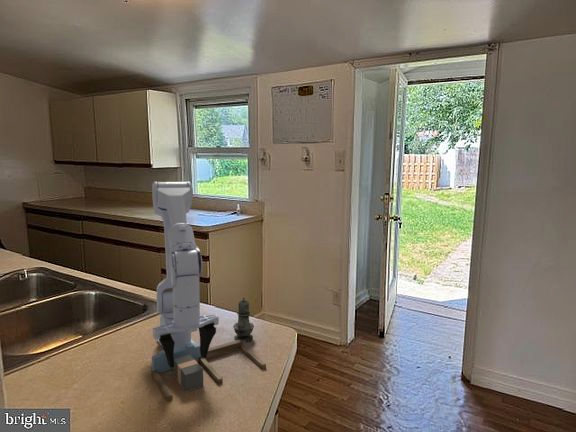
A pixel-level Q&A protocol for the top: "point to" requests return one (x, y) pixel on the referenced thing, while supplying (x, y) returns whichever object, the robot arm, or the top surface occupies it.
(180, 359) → the grey and tan block
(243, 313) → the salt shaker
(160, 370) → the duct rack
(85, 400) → the top surface
